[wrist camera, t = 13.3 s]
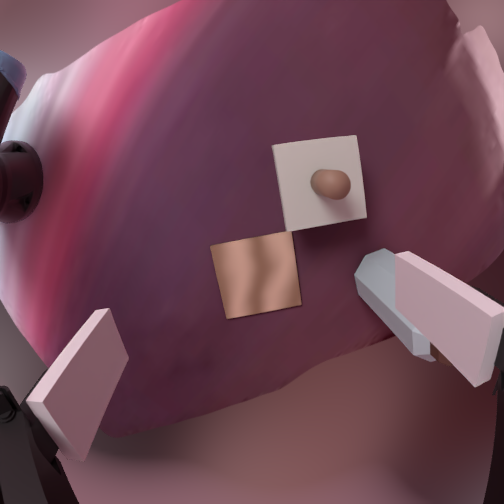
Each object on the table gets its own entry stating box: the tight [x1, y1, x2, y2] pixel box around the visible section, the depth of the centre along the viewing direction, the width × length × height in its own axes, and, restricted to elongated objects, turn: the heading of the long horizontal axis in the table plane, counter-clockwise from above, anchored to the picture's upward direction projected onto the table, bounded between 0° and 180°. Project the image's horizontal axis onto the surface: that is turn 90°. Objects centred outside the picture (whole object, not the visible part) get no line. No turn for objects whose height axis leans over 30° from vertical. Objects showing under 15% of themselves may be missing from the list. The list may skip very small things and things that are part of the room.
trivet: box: [210, 231, 301, 319], centre depth 52 cm, size 13×13×1 cm
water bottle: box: [354, 248, 453, 366], centre depth 41 cm, size 10×10×25 cm
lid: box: [272, 135, 367, 232], centre depth 39 cm, size 12×12×7 cm
